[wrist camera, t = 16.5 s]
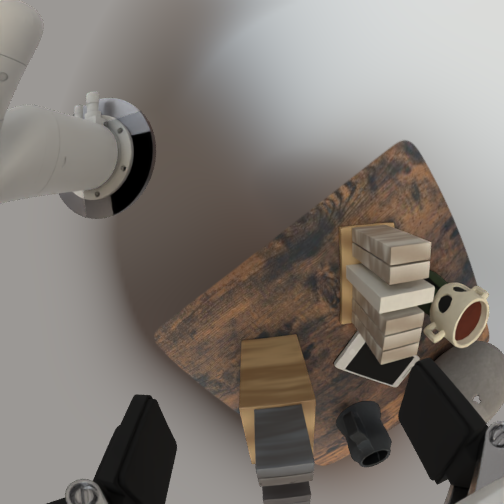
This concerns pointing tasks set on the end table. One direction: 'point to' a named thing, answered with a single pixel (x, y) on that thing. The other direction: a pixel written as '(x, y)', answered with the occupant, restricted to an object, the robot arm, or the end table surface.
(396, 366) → the smartphone
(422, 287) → the grey flat block
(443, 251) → the end table surface
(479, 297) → the character mug
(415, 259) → the grey-brown wooden block stand
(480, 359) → the grey oval stone
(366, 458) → the mug
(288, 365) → the wooden stand
